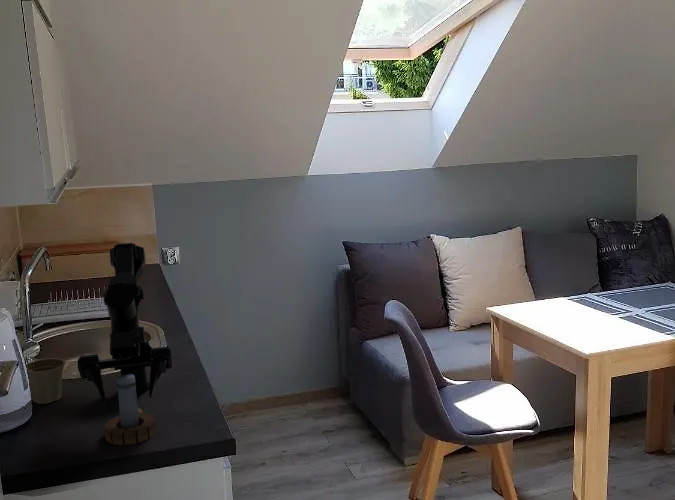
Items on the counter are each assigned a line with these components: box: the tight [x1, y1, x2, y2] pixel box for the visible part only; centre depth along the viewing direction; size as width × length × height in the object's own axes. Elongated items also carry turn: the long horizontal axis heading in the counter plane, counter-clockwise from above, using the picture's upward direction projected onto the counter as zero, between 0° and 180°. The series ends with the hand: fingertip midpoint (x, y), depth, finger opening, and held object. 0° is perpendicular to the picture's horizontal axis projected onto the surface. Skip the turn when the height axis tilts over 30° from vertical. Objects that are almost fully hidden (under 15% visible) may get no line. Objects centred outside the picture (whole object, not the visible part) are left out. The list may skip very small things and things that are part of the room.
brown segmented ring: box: [104, 412, 157, 446], centre depth 144 cm, size 10×10×2 cm
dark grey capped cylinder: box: [116, 374, 139, 429], centre depth 143 cm, size 4×4×12 cm
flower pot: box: [25, 357, 66, 405], centre depth 163 cm, size 9×9×9 cm
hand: (127, 400), depth 141 cm, fingers open, 9 cm apart
